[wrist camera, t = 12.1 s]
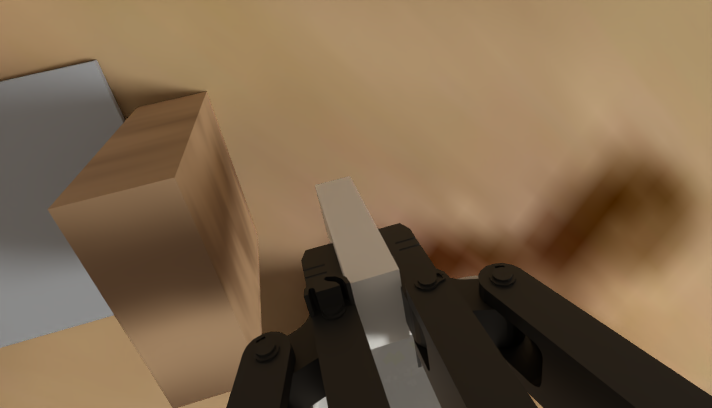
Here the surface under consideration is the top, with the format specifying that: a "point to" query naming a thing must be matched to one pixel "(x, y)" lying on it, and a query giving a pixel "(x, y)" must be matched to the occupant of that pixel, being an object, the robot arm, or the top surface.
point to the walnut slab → (170, 245)
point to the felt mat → (47, 196)
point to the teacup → (402, 375)
